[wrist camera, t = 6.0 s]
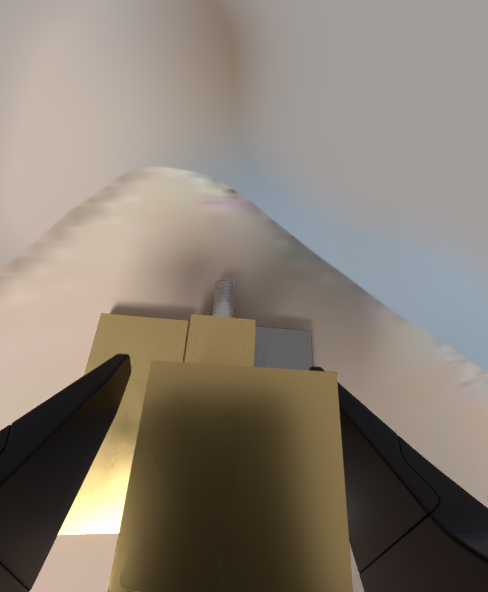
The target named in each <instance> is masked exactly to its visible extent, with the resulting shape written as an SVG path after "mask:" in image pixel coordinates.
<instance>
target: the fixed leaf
mask: <svg viewBox="0 0 488 592" xmlns="http://www.w3.org/2000/svg"><path fill="white" fill-rule="evenodd" d="M235 296H236V283H234V282H232V281H227V280H221V281H217V282H216V285H215V295H214V304H213V313H212V316H219V317H230V318H234V310H235ZM312 366H313V364H312V339H311V331H304V330H293V329H281V328H270V327H258V326H256V327H255V351H254V367H263V368H279V369H295V370H309V369H310V367H312Z"/></svg>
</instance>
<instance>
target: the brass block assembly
mask: <svg viewBox="0 0 488 592" xmlns="http://www.w3.org/2000/svg"><path fill="white" fill-rule="evenodd" d="M189 324H190V326H189ZM255 327H256V320H253V319H241V318H230V317H219V316H208V315H197V314H191V319H190V323H189V321H186V320H174V319H163V318H151V317H140V316H128V315H117V314H105V313H101V316H100V320H99V323H98V327H97V331H96V334H95V338H94V341H93V345H92V349H91V352H90V356H89V359H88V363H87V367H86V370H85V374H84V375H86V374H87V373H89V372H90V371H92V370H93V369H95V368H96V367H98V366H99V365H101V364H102V363H104V362H105V361H107V360H108V359H110V358H112V357H113V356H115V355H116V354H119V353H120V354H129V356H130V361H131V375H130V378H129V381H128V384H127V386H126V389H125V392H124V395H123V397H122V400H121V403H120V406H119V408H118V411H117V414H116V416H115V418H114V420H113V422H112V424H111V426H110V428H109V431H108V433H107V435H106V437H105V439H104V441H103V443H102V445H101V447H100V449H99V451H98V453H97V455H96V457H95V459H94V461H93V463H92V465H91V467H90V470H89V472H88V474H87V476H86V478H85V480H84V482H83V484H82V486H81V488H80V490H79V492H78V494H77V496H76V498H75V500H74V502H73V504H72V506H71V509H70V511H69V513H68V515H67V517H66V519H65V521H64V523H63V525H62V527H61V529H60V531H59V533H58V535H61V534H100V533H119V535H118V540H117V546H116V551H115V556H114V561H113V567H112V572H111V577H110V583H109V588H108V592H353V587H352V573H351V560H350V546H349V533H348V519H347V506H346V492H345V478H344V465H343V451H342V438H341V424H340V411H339V397H338V384H337V372H326V371H310V370H295V369H279V368H263V367H254V351H255ZM188 331H189V333H188ZM187 338H188V340H187ZM186 345H187V347H186ZM185 352H186V354H185ZM184 359H185V361H184Z"/></svg>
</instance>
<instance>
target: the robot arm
mask: <svg viewBox="0 0 488 592" xmlns="http://www.w3.org/2000/svg"><path fill="white" fill-rule="evenodd" d="M309 370H310V371H324V370H323V369H322V368H321V367H314V366H312V367H310V369H309ZM130 375H131V361H130V356H129V354H120V353H119V354H116V355H115V356H113V357H112V358H110V359H108V360H107V361H105V362H104V363H102V364H101V365H99V366H98V367H96V368H95V369H93V370H92V371H90V372H89V373H87V374H86V375H84V376H83V377H81V378H80V379H78V380H77V381H75V382H74V383H72V384H71V385H69V386H68V387H66V388H64V389H63V390H61V391H60V392H58V393H57V394H55V395H54V396H52V397H51V398H49V399H48V400H46V401H45V402H43V403H42V404H40V405H39V406H37V407H36V408H34V409H33V410H31V411H30V412H28V413H27V414H25V415H24V416H22V417H21V418H19V419H17V420H16V421H14V422H13V423H12V425H8V426H7V427H5V428H4V429H2V430H1V431H0V592H29V591H30V590H31V589H32V587H33V584H34V582H35V580H36V578H37V576H38V574H39V572H40V570H41V568H42V566H43V564H44V562H45V560H46V558H47V556H48V554H49V552H50V550H51V548H52V545H53V543H54V541H55V539H56V537H57V535H58V533H59V531H60V529H61V527H62V525H63V523H64V521H65V519H66V517H67V515H68V513H69V511H70V509H71V506H72V504H73V502H74V500H75V498H76V496H77V494H78V492H79V490H80V488H81V486H82V484H83V482H84V480H85V478H86V476H87V474H88V472H89V470H90V467H91V465H92V463H93V461H94V459H95V457H96V455H97V453H98V451H99V449H100V447H101V445H102V443H103V441H104V439H105V437H106V435H107V433H108V431H109V428H110V426H111V424H112V422H113V420H114V418H115V416H116V414H117V411H118V408H119V406H120V403H121V400H122V397H123V395H124V392H125V389H126V386H127V384H128V381H129V378H130ZM337 384H338V397H339V411H340V424H341V438H342V451H343V465H344V478H345V492H346V506H347V519H348V533H349V542H350V545H351V549H352V552H353V555H354V558H355V562H356V565H357V568H358V571H359V573H360V578H361V582H362V585H363V588H364V591H365V592H488V508H487V507H485V506H484V505H483V504H482V503H480V502H479V501H478V500H476V499H475V498H474V497H473V496H471V495H470V494H469V493H468V492H466V491H465V490H464V489H463V488H461V487H460V486H459V485H457V484H456V483H455V482H454V481H452V480H451V479H450V478H449V477H447V476H446V475H445V474H444V473H442V472H441V471H440V470H439V469H437V468H436V467H435V466H434V465H432V464H431V463H430V462H429V461H428V460H426V459H425V458H424V457H423V456H422V455H420V454H419V453H418V452H417V451H416V450H415V449H413V448H412V447H411V446H410V445H409V444H408V443H406V442H405V441H404V440H403V439H402V438H401V437H400V436H397V434H396V433H395V432H394V431H393V430H392V429H390V428H389V427H388V426H387V425H386V424H385V423H384V422H382V421H381V420H380V419H379V418H378V417H377V416H376V415H374V414H373V413H372V412H371V411H370V410H369V409H368V408H367V407H365V406H364V405H363V404H362V403H361V402H360V401H359V400H357V399H356V398H355V397H354V396H353V395H352V394H351V393H349V392H348V391H347V390H346V389H345V388H344V387H343V386H341V385H340V384H339V383H338V382H337Z"/></svg>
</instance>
